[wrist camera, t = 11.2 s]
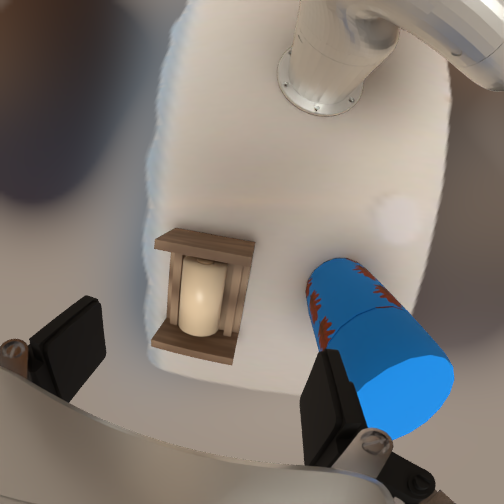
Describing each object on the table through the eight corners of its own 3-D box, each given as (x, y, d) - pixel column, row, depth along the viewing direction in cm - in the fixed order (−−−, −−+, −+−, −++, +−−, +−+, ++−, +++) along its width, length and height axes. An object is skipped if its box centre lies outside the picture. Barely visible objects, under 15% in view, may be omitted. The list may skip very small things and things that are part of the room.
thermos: (381, 269, 40) (475, 361, 15) (352, 327, 42) (407, 444, 18) (320, 246, 39) (385, 341, 15) (293, 309, 42) (313, 440, 18)
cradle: (175, 227, 40) (154, 239, 32) (255, 242, 40) (251, 257, 32) (168, 320, 44) (151, 346, 36) (237, 336, 44) (232, 365, 36)
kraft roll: (191, 249, 40) (177, 260, 34) (231, 257, 39) (223, 270, 34) (185, 313, 42) (172, 332, 37) (221, 322, 42) (213, 342, 36)
